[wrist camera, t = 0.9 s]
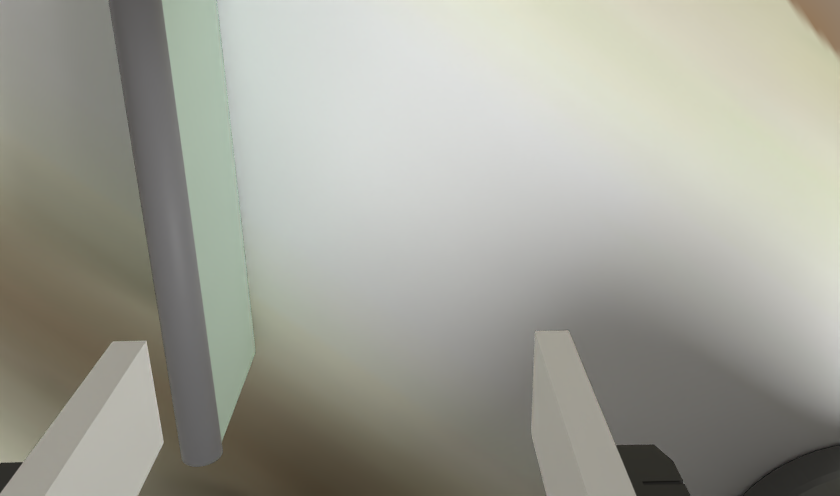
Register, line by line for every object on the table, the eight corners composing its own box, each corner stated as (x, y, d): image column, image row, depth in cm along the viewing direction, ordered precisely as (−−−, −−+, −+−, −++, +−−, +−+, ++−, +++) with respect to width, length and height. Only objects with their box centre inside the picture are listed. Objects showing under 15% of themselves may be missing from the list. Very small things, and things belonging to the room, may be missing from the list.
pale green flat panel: (169, -109, 31) (79, -128, 23) (209, -110, 31) (134, -130, 23) (227, 352, 39) (176, 466, 30) (259, 351, 39) (217, 466, 30)
